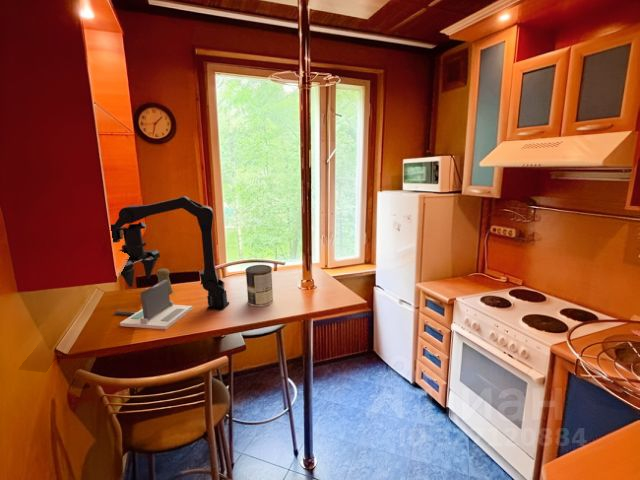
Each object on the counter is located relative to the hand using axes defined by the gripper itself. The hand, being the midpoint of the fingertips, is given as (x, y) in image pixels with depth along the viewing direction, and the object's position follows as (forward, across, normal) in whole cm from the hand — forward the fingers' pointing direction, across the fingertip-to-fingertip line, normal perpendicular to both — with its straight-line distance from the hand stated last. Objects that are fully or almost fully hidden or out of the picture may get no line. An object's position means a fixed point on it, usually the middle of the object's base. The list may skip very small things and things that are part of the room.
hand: (139, 282), depth 127 cm
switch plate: (+13, +1, +2) cm, 13 cm away
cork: (+13, -21, -6) cm, 26 cm away
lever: (+11, 0, +6) cm, 13 cm away
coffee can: (+13, -19, +39) cm, 45 cm away
